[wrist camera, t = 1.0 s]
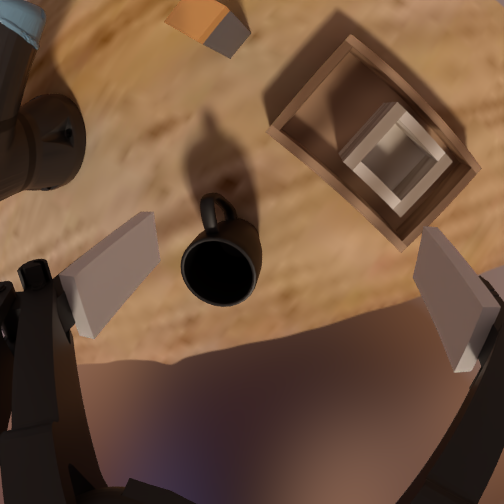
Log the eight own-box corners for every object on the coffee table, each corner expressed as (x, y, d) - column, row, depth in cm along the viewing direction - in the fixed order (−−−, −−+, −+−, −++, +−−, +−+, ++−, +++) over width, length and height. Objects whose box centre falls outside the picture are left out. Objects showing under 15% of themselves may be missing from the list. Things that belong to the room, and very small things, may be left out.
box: (270, 129, 35) (260, 134, 29) (347, 41, 29) (354, 26, 22) (394, 239, 37) (407, 264, 31) (467, 161, 31) (494, 173, 25)
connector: (204, 42, 32) (163, 22, 22) (224, 17, 30) (190, -13, 20) (230, 58, 32) (197, 41, 22) (251, 33, 30) (225, 6, 20)
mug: (264, 176, 37) (248, 197, 29) (272, 267, 42) (259, 308, 34) (199, 180, 39) (166, 202, 31) (212, 267, 44) (187, 305, 36)
